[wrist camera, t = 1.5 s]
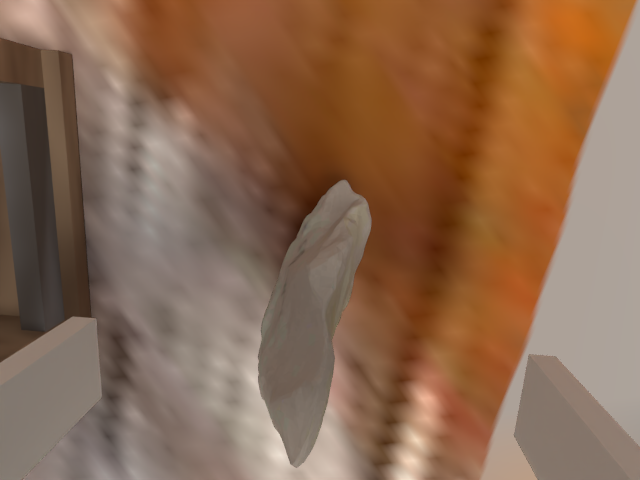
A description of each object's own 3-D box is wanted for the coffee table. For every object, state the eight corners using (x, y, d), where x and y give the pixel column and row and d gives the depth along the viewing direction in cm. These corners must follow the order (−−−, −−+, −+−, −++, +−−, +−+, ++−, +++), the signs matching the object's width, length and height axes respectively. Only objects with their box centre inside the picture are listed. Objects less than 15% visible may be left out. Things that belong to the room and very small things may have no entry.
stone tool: (315, 161, 25) (274, 191, 11) (374, 177, 25) (410, 228, 11) (271, 326, 28) (191, 529, 13) (325, 341, 28) (301, 560, 14)
